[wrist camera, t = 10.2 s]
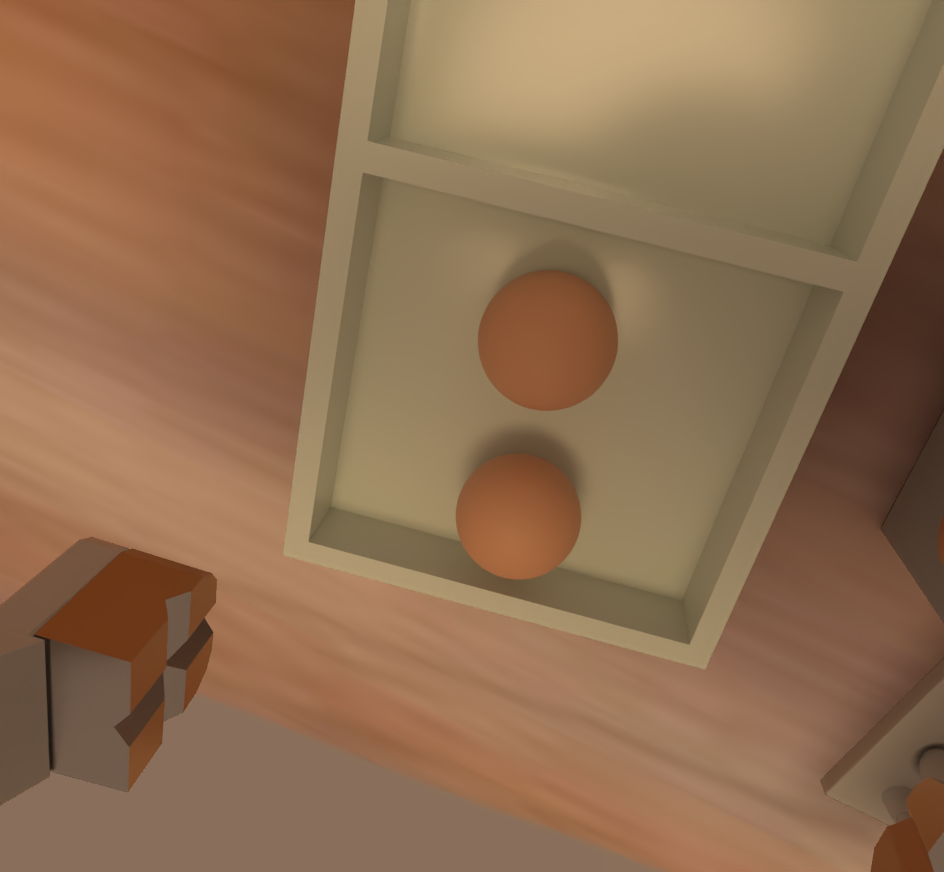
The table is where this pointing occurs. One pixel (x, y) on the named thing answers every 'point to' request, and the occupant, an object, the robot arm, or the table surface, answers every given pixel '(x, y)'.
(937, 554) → the card
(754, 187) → the twin dish
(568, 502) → the terracotta ball
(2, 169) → the table surface
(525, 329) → the terracotta ball
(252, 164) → the table surface
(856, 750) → the test tube rack
